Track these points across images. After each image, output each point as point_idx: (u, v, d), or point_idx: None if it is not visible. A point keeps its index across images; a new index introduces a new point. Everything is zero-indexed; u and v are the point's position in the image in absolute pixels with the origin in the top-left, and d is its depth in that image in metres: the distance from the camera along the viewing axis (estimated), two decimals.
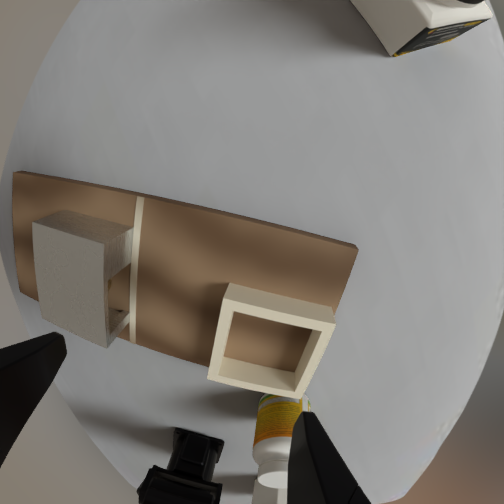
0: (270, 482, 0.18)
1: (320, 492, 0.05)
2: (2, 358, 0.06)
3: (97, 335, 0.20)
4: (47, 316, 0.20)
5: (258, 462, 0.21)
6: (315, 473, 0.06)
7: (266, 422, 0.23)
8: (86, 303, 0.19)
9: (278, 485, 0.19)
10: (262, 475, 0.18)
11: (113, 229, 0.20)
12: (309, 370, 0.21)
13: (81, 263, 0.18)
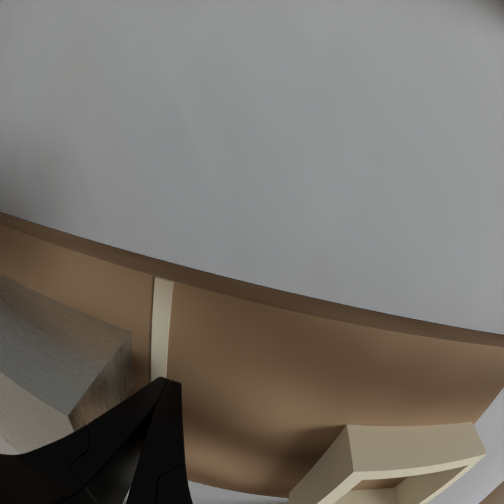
0: None
1: (140, 456, 0.05)
2: (117, 425, 0.06)
3: None
4: (12, 444, 0.08)
5: None
6: (146, 437, 0.06)
7: None
8: None
9: None
10: None
11: (87, 345, 0.08)
12: (429, 497, 0.09)
13: (35, 421, 0.06)
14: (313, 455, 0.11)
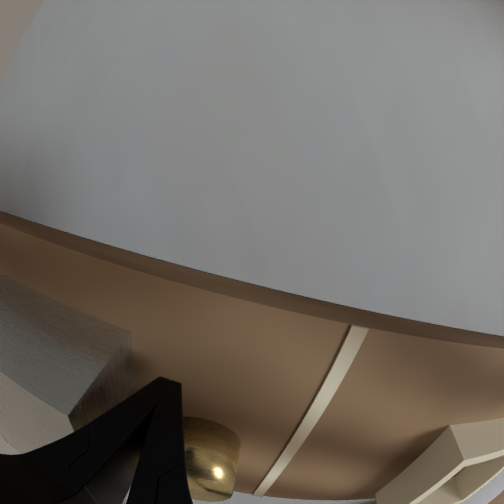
0: None
1: (140, 456, 0.05)
2: (117, 425, 0.06)
3: None
4: (11, 443, 0.08)
5: None
6: (146, 437, 0.06)
7: None
8: None
9: None
10: None
11: (87, 345, 0.08)
12: (488, 480, 0.09)
13: (34, 421, 0.06)
14: (414, 455, 0.11)
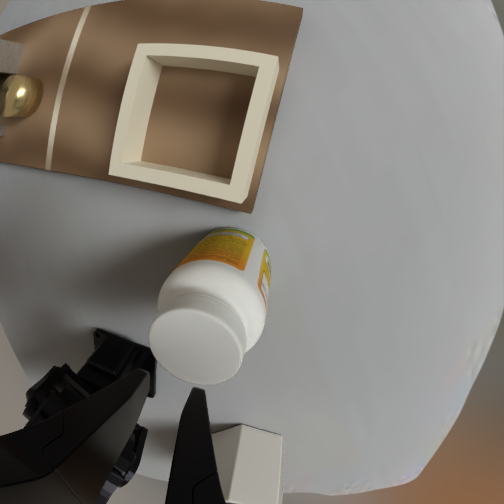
0: (173, 356, 0.11)
1: (171, 466, 0.05)
2: (91, 413, 0.06)
3: None
4: None
5: None
6: (175, 447, 0.06)
7: (188, 255, 0.15)
8: None
9: (192, 370, 0.11)
10: (154, 324, 0.11)
11: None
12: (248, 136, 0.14)
13: None
14: None
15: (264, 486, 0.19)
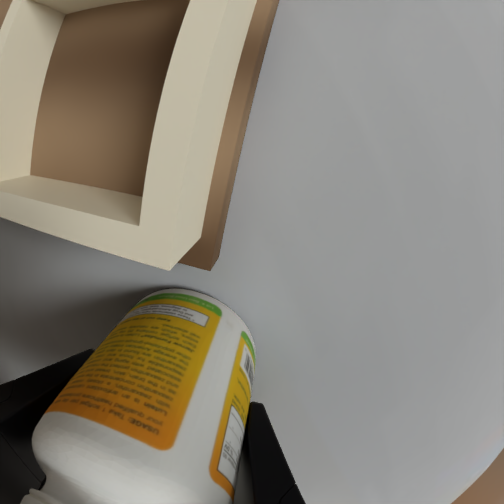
0: None
1: (251, 485, 0.05)
2: (38, 383, 0.06)
3: None
4: None
5: None
6: (250, 465, 0.06)
7: (83, 366, 0.06)
8: None
9: None
10: None
11: None
12: (178, 97, 0.05)
13: None
14: None
15: None
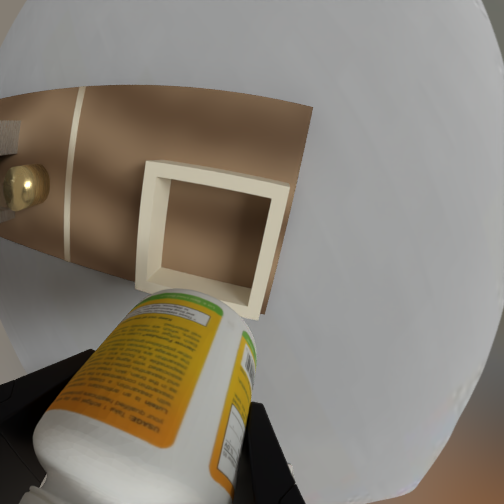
0: None
1: (251, 485, 0.05)
2: (38, 383, 0.06)
3: None
4: None
5: None
6: (250, 465, 0.06)
7: (84, 364, 0.07)
8: None
9: None
10: None
11: None
12: (263, 266, 0.16)
13: None
14: None
15: None
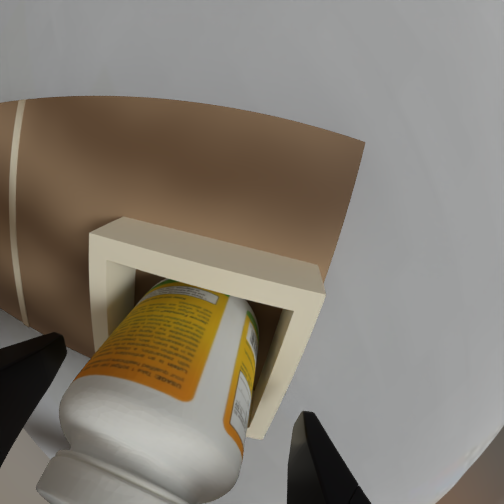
0: None
1: (320, 492, 0.05)
2: (2, 358, 0.06)
3: None
4: None
5: None
6: (315, 473, 0.06)
7: (107, 339, 0.08)
8: None
9: None
10: (38, 491, 0.03)
11: None
12: (273, 393, 0.10)
13: None
14: None
15: None
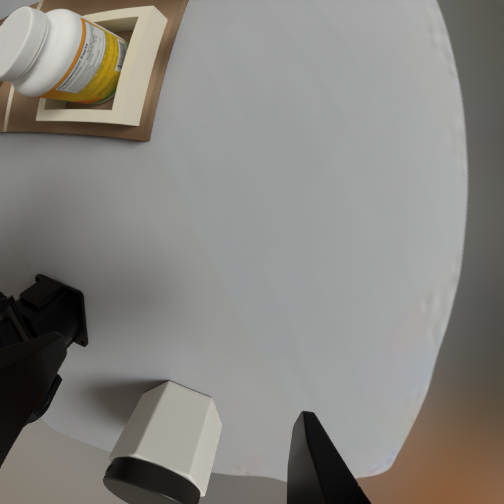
0: None
1: (320, 492, 0.05)
2: (2, 358, 0.06)
3: None
4: None
5: None
6: (315, 473, 0.06)
7: None
8: None
9: (0, 62, 0.07)
10: None
11: None
12: (126, 68, 0.13)
13: None
14: None
15: (179, 447, 0.19)
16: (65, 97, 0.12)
